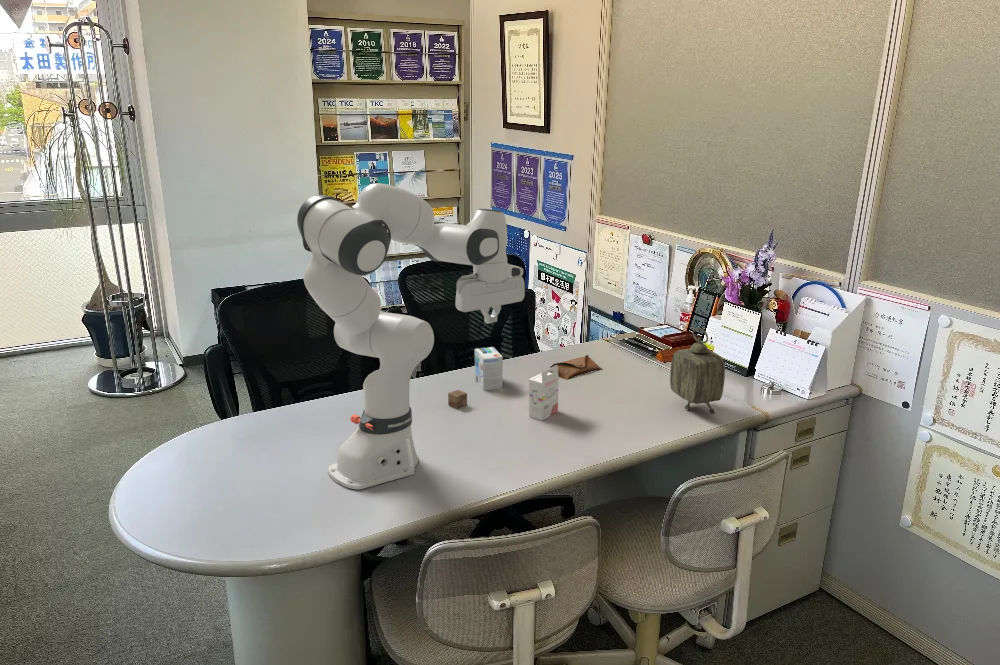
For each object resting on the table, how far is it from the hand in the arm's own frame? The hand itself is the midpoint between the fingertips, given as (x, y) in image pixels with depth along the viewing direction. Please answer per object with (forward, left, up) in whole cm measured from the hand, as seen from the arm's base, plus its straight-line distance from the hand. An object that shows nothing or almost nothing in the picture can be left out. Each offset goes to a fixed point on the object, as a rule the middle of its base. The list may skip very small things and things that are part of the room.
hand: (490, 322), depth 191 cm
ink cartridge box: (+18, -2, -31) cm, 36 cm away
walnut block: (+4, +20, -31) cm, 37 cm away
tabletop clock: (+53, -30, -31) cm, 69 cm away
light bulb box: (+23, +27, -31) cm, 47 cm away
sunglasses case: (+53, +15, -32) cm, 64 cm away
